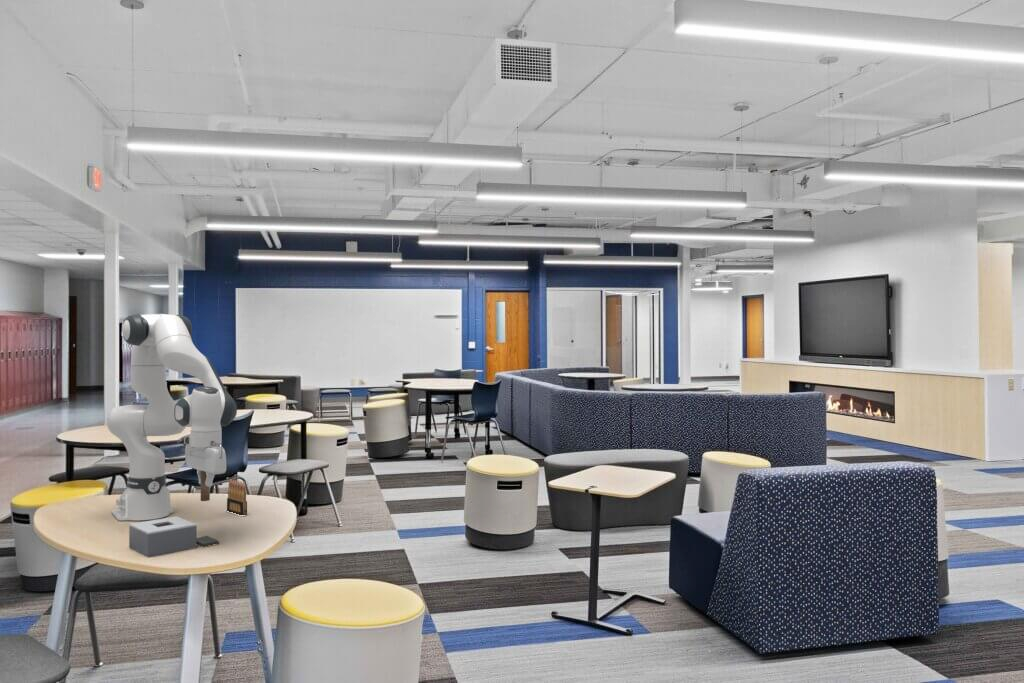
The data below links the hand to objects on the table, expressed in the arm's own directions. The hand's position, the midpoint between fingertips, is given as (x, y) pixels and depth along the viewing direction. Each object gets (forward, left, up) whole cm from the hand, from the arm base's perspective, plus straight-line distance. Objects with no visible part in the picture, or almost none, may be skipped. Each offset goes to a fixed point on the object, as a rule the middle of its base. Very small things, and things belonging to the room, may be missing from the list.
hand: (205, 485), depth 229 cm
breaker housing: (-4, -11, -18) cm, 21 cm away
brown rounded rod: (0, 0, -5) cm, 5 cm away
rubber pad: (0, 0, -18) cm, 18 cm away
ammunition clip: (-29, +25, -18) cm, 42 cm away
